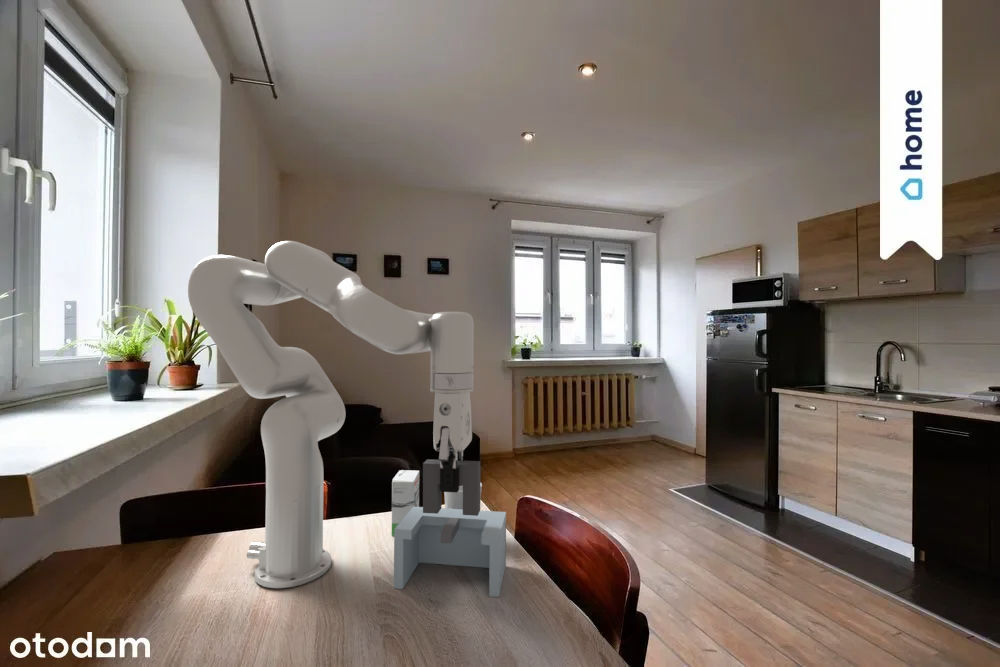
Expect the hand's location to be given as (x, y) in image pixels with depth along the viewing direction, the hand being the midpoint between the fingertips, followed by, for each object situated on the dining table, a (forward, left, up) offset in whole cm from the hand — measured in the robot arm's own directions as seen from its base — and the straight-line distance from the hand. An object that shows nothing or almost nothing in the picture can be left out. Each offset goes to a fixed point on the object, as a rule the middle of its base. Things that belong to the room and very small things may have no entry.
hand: (451, 487), depth 76 cm
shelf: (0, +2, -17) cm, 17 cm away
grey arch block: (0, 0, -4) cm, 4 cm away
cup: (-1, +15, -17) cm, 23 cm away
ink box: (-15, +20, -17) cm, 30 cm away
